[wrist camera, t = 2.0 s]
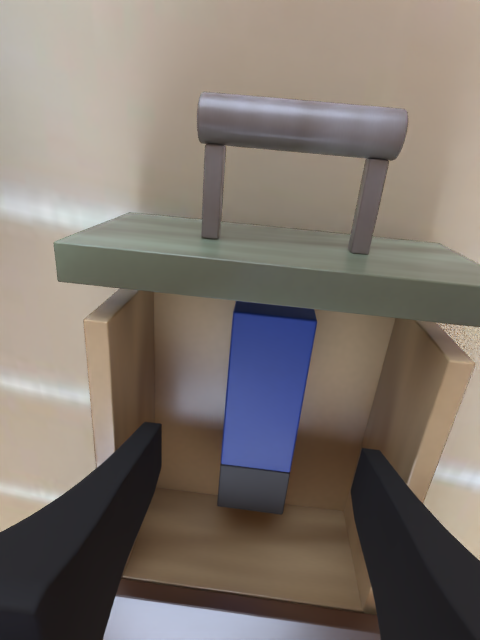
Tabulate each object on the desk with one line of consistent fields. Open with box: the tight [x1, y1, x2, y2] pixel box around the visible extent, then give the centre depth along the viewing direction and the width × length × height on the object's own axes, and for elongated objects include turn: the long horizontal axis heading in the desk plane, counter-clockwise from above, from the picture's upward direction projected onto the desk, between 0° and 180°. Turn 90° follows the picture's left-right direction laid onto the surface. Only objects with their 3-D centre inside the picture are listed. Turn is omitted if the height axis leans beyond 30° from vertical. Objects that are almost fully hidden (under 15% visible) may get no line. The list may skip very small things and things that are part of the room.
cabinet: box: [103, 579, 381, 640], centre depth 22 cm, size 16×14×8 cm
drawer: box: [54, 92, 480, 615], centre depth 16 cm, size 20×13×6 cm
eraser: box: [217, 301, 317, 515], centre depth 17 cm, size 10×3×3 cm, turn 175°
